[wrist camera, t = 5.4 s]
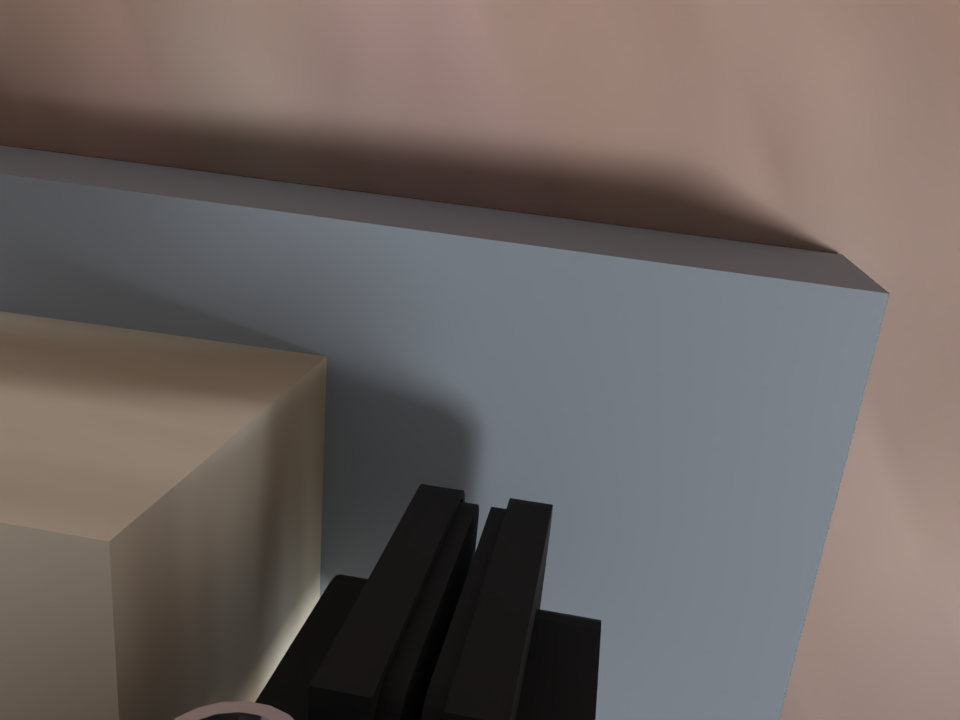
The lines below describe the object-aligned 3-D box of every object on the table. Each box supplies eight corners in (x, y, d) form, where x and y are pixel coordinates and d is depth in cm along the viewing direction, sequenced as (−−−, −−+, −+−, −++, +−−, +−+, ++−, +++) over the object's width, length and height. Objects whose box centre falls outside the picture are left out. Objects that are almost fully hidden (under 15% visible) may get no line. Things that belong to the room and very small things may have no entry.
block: (-14, 308, 12) (-423, 447, 8) (326, 356, 11) (109, 541, 7) (16, 613, 14) (-308, 885, 9) (317, 670, 13) (135, 997, 8)
